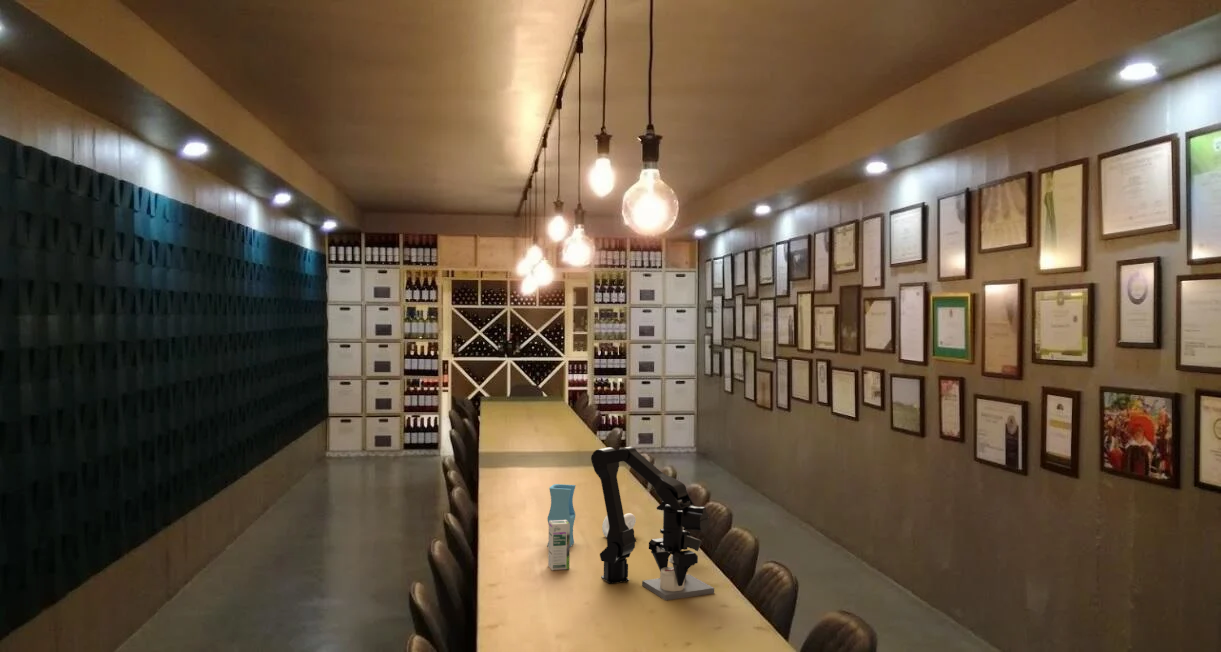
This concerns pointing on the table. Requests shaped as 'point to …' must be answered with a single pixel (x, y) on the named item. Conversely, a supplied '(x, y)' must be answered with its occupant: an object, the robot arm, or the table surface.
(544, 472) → the table surface
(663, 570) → the knob
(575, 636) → the table surface
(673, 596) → the board
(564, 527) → the syrup box
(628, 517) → the white rounded lump
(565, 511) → the vase
